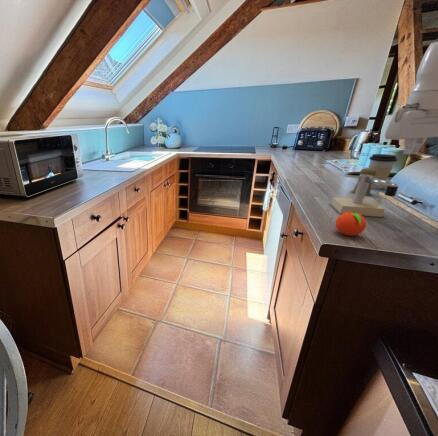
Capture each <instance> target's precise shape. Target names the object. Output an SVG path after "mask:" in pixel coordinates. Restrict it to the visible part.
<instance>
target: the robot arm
mask: <svg viewBox="0 0 438 436" xmlns="http://www.w3.org/2000/svg"><path fill="white" fill-rule="evenodd" d="M415 78H416V79H415V83H414V86H413V87H412V89H411V90H410V93H409V95H408V99H407V101H406V103H404V104H402V105H401V106H400V107H398V109H397V110H396V112H395V113H393V115H392V117H391V118H390V121H389V123H388V126H386V127H387V128H386V130H385V133H384V138H385V140H395V141H400V140H403V145H404V150H403V155H416V154H418V153H419V151H420V149H421V148H422V146H423V145H424V144H425V143H426V141H427V139H428V138H438V38H436V39H434V41H432V42H431V43H430V44H429V46H428V47H427V49H426V51H425V53H424V54H423V56H422V58H421V61H420V64H419V66H418V69H417V72H416V76H415Z"/></svg>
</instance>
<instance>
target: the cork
mask: <svg viewBox="0 0 438 436" xmlns="http://www.w3.org/2000/svg"><path fill="white" fill-rule="evenodd" d="M360 174H367V175H372V176H373V177H374V176H375V175H376V170H375V169H371V168H369V167H366V168H362V169H361V170H360V171H359V175H360ZM358 183H359V181H358V180H357V182H356V184H355V186H354V188H353V190H352V193H353V194H354V195H355V192H356V189H357V186H358ZM371 185H372V183H369V185H368V188H367V191H366V194H365V196H370V195H371V191H372V189H371Z"/></svg>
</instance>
